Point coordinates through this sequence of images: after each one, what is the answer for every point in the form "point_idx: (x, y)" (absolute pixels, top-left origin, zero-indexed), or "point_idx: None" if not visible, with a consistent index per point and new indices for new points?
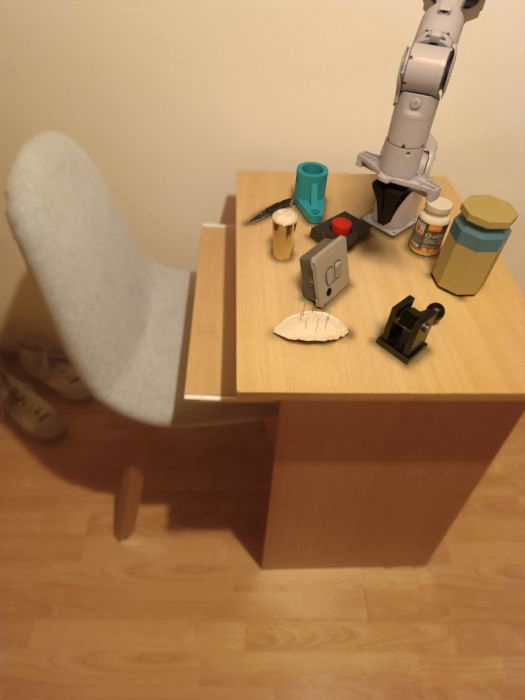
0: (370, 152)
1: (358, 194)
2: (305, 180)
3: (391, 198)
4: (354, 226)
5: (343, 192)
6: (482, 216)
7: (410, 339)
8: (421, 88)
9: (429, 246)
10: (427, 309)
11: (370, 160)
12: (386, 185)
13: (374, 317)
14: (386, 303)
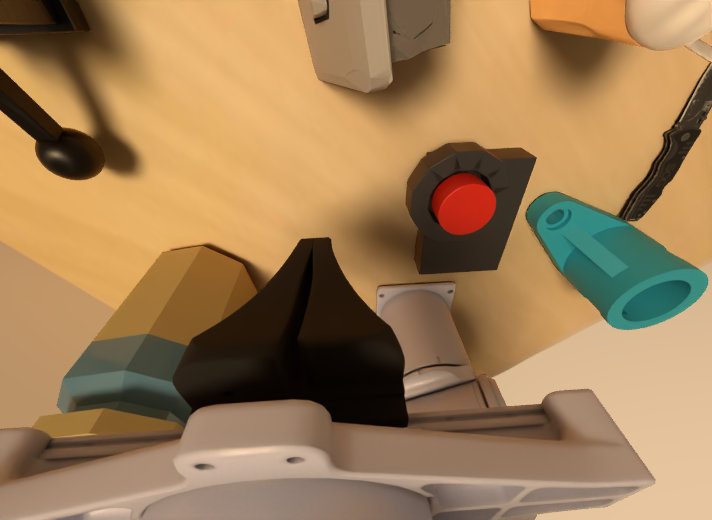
0: (565, 510)
1: (503, 324)
2: (654, 262)
3: (233, 328)
4: (437, 235)
5: (531, 311)
6: None
7: None
8: None
9: None
10: (28, 117)
11: (523, 490)
12: (313, 379)
13: (157, 15)
14: (202, 105)
